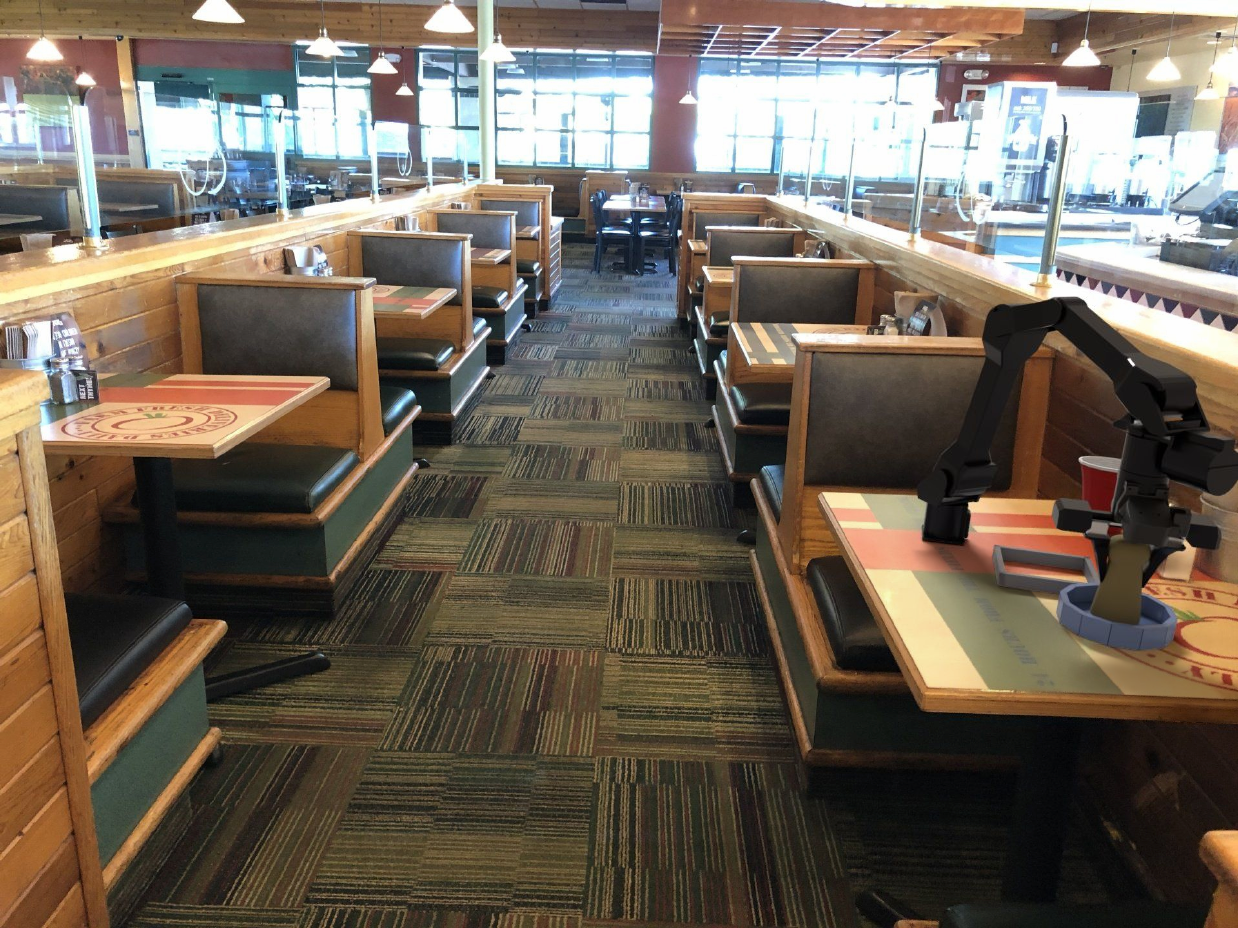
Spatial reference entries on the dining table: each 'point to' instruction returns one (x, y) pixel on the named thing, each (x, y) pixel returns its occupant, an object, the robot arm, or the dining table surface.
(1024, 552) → the open gray frame
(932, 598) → the dining table surface
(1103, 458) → the plastic cup
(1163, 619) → the bowl
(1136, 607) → the olive game pawn
